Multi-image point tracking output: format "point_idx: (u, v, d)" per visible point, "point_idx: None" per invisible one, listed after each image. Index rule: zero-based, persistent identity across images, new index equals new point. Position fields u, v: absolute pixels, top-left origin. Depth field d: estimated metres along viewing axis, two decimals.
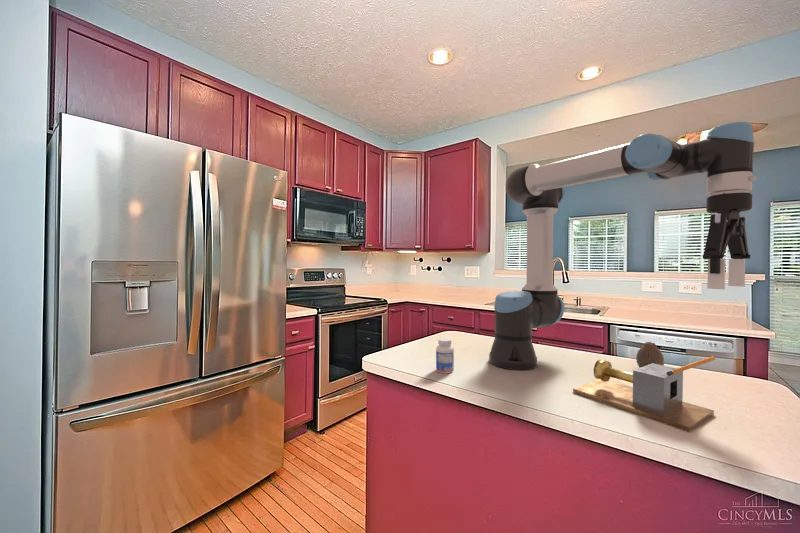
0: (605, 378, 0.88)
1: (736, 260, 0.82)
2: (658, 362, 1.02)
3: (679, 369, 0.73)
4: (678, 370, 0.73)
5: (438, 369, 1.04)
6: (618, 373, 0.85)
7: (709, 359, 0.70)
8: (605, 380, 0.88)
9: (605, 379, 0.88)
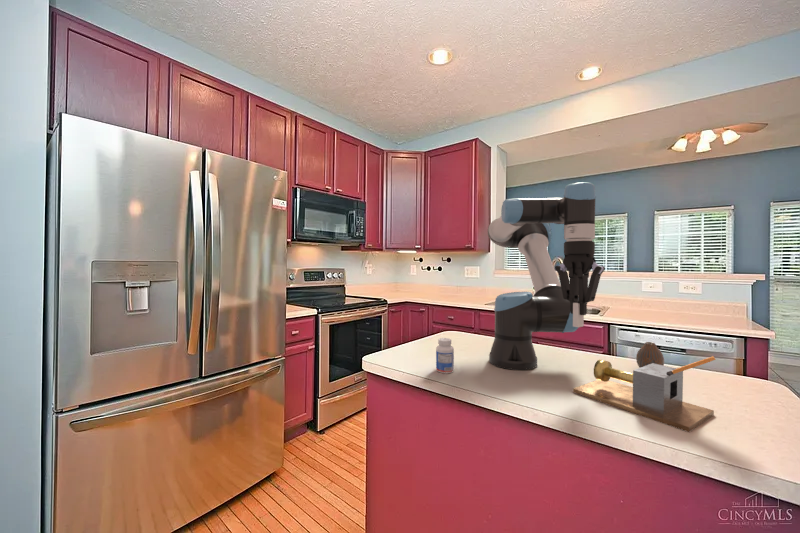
0: (605, 378, 0.88)
1: None
2: (658, 362, 1.02)
3: (679, 369, 0.73)
4: (678, 370, 0.73)
5: (438, 369, 1.04)
6: (618, 373, 0.85)
7: (709, 359, 0.70)
8: (605, 380, 0.88)
9: (605, 379, 0.88)
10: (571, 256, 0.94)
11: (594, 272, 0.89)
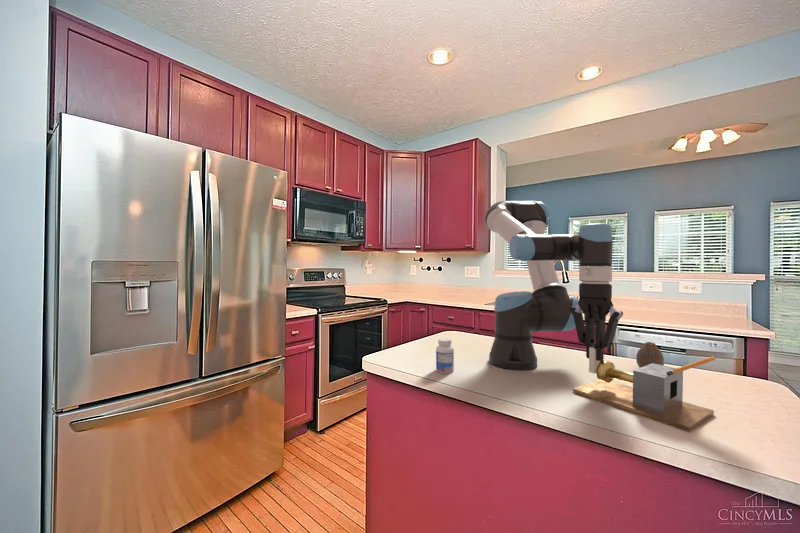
0: (608, 379, 0.87)
1: None
2: (658, 362, 1.02)
3: (679, 369, 0.73)
4: (678, 370, 0.73)
5: (438, 369, 1.04)
6: (621, 374, 0.84)
7: (709, 359, 0.70)
8: (608, 380, 0.87)
9: (608, 380, 0.87)
10: (587, 298, 0.91)
11: (612, 318, 0.85)
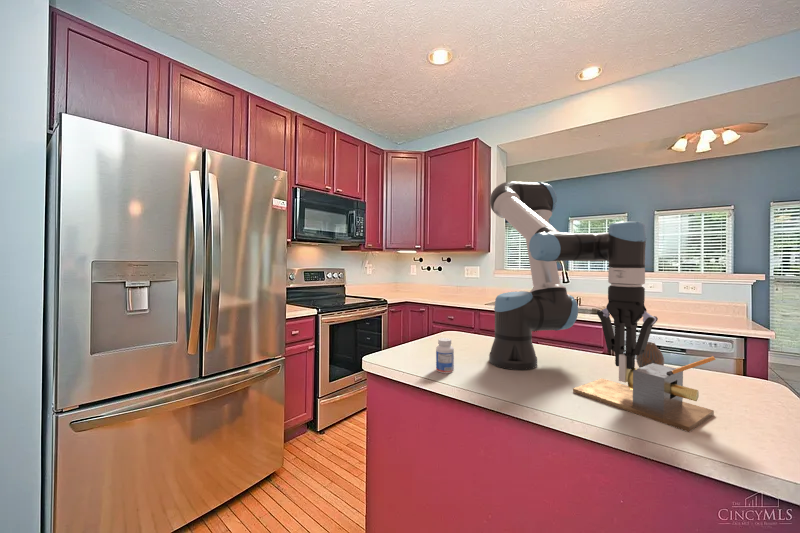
0: None
1: None
2: (658, 362, 1.02)
3: (679, 369, 0.73)
4: (678, 370, 0.73)
5: (438, 369, 1.04)
6: None
7: (709, 359, 0.70)
8: None
9: None
10: (617, 302, 0.85)
11: (645, 323, 0.79)
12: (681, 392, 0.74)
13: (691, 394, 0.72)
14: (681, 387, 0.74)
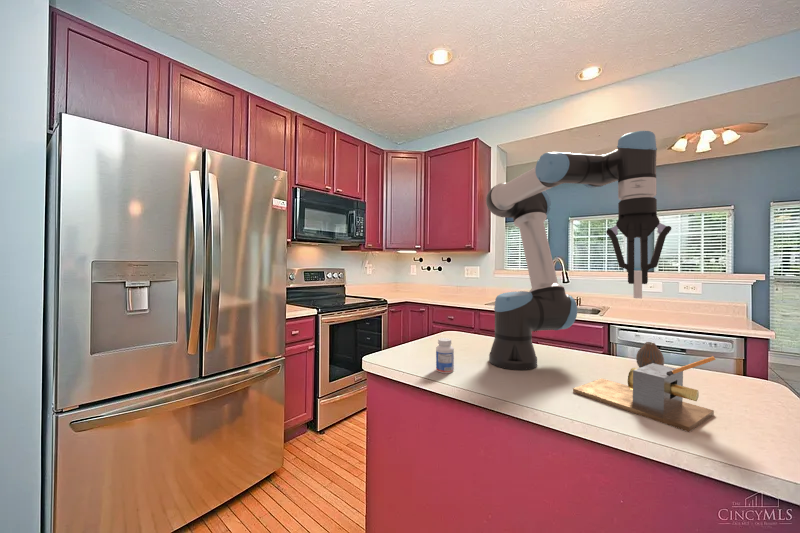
0: None
1: None
2: (658, 362, 1.02)
3: (679, 369, 0.73)
4: (678, 370, 0.73)
5: (438, 369, 1.04)
6: None
7: (709, 359, 0.70)
8: None
9: None
10: (630, 217, 0.81)
11: (663, 233, 0.78)
12: (681, 392, 0.74)
13: (691, 394, 0.72)
14: (681, 387, 0.74)
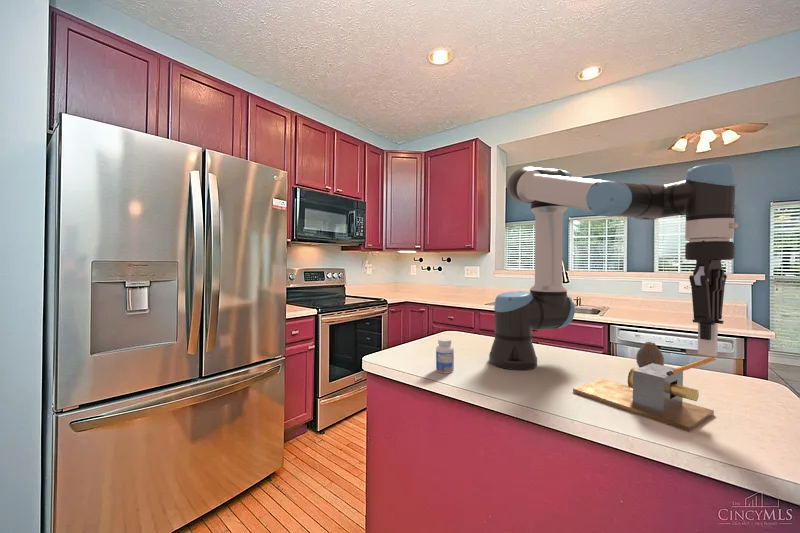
0: None
1: None
2: (658, 362, 1.02)
3: (679, 369, 0.73)
4: (678, 370, 0.73)
5: (438, 369, 1.04)
6: None
7: (709, 359, 0.70)
8: None
9: None
10: (713, 262, 0.69)
11: (724, 281, 0.72)
12: (681, 392, 0.74)
13: (691, 394, 0.72)
14: (681, 387, 0.74)
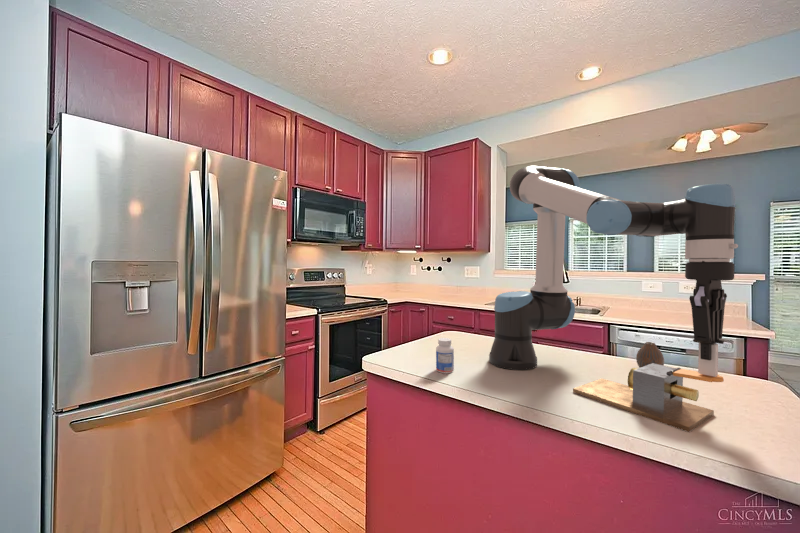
0: None
1: None
2: (658, 362, 1.02)
3: (681, 374, 0.73)
4: (680, 375, 0.73)
5: (438, 369, 1.04)
6: None
7: (718, 380, 0.69)
8: None
9: None
10: (713, 282, 0.69)
11: (724, 301, 0.72)
12: (681, 392, 0.74)
13: (691, 394, 0.72)
14: (681, 387, 0.74)
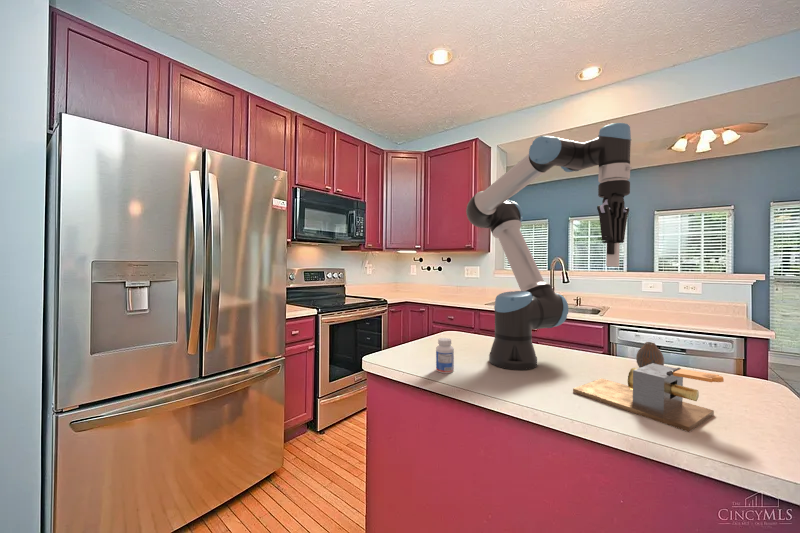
0: None
1: None
2: (658, 362, 1.02)
3: (681, 374, 0.73)
4: (680, 375, 0.73)
5: (438, 369, 1.04)
6: None
7: (718, 380, 0.69)
8: None
9: None
10: (615, 196, 0.94)
11: (626, 213, 0.97)
12: (681, 392, 0.74)
13: (691, 394, 0.72)
14: (681, 387, 0.74)
